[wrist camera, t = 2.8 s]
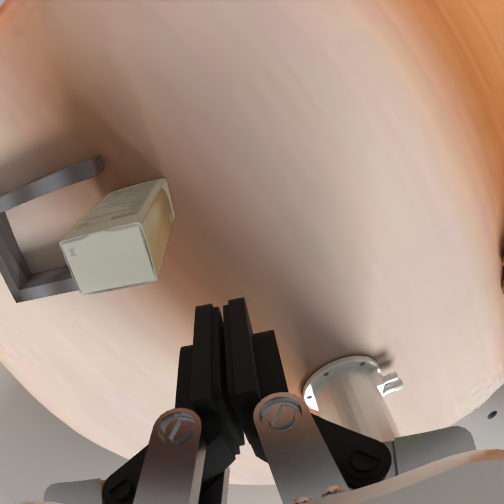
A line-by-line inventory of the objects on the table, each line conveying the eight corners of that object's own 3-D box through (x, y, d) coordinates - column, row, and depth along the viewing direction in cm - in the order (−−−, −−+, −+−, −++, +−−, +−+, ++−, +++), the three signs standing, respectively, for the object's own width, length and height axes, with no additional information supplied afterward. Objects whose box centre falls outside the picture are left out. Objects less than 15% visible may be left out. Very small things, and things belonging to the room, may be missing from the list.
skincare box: (120, 230, 30) (77, 298, 19) (108, 190, 28) (53, 242, 18) (179, 217, 31) (159, 284, 20) (169, 175, 29) (139, 222, 18)
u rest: (99, 155, 27) (85, 161, 24) (135, 263, 32) (127, 280, 29) (-9, 200, 27) (-26, 210, 23) (28, 287, 32) (16, 302, 29)
